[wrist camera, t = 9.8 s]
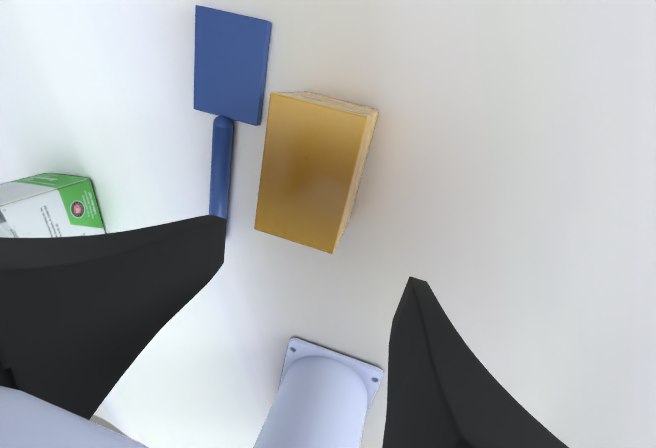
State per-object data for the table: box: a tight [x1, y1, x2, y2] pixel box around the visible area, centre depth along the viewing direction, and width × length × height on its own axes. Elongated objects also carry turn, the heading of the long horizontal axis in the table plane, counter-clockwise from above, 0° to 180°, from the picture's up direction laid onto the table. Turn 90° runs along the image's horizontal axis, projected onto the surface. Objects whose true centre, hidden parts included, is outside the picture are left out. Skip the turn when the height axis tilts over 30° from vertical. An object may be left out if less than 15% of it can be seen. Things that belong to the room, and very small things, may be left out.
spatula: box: [194, 5, 271, 219], centre depth 20 cm, size 15×4×1 cm, turn 168°
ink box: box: [0, 173, 105, 238], centre depth 22 cm, size 9×5×12 cm, turn 176°
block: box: [255, 91, 379, 254], centre depth 17 cm, size 7×4×5 cm, turn 168°
